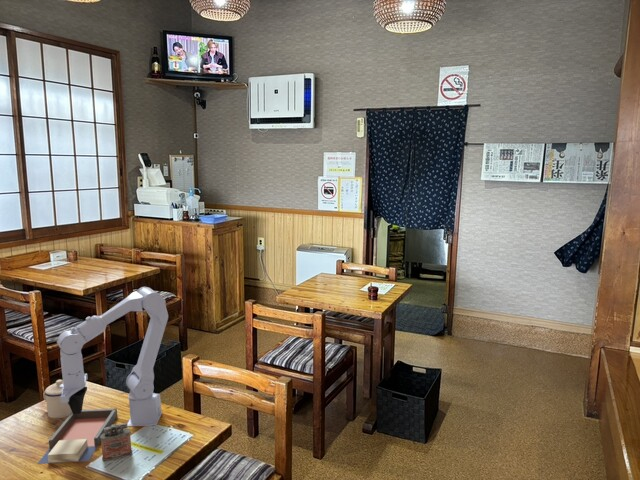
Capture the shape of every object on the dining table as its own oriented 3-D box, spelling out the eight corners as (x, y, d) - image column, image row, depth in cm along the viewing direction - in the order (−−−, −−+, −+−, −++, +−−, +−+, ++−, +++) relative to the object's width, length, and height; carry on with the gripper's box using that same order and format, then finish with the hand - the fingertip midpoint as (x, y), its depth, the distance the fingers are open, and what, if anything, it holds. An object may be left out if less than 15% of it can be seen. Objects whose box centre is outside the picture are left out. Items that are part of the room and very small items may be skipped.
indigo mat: (98, 447, 142) (97, 446, 142) (88, 462, 135) (88, 461, 135) (49, 449, 141) (49, 448, 141) (37, 464, 134) (37, 463, 134)
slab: (87, 446, 142) (87, 438, 142) (77, 461, 135) (77, 453, 135) (60, 447, 141) (59, 440, 141) (48, 462, 135) (47, 454, 134)
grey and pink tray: (117, 416, 159) (116, 408, 159) (98, 447, 142) (97, 438, 142) (74, 418, 158) (73, 410, 158) (49, 449, 141) (48, 440, 141)
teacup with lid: (83, 408, 165) (80, 376, 163) (61, 421, 156) (58, 388, 154) (56, 402, 169) (53, 371, 167) (34, 415, 160) (30, 383, 158)
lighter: (102, 463, 135) (99, 431, 133) (102, 457, 138) (99, 425, 136) (132, 456, 138) (130, 425, 136) (132, 450, 141) (129, 419, 139)
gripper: (69, 361, 148) (73, 401, 151) (47, 382, 134) (52, 426, 137) (92, 360, 149) (96, 400, 151) (73, 381, 135) (77, 425, 137)
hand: (77, 412), depth 144 cm, fingers closed
